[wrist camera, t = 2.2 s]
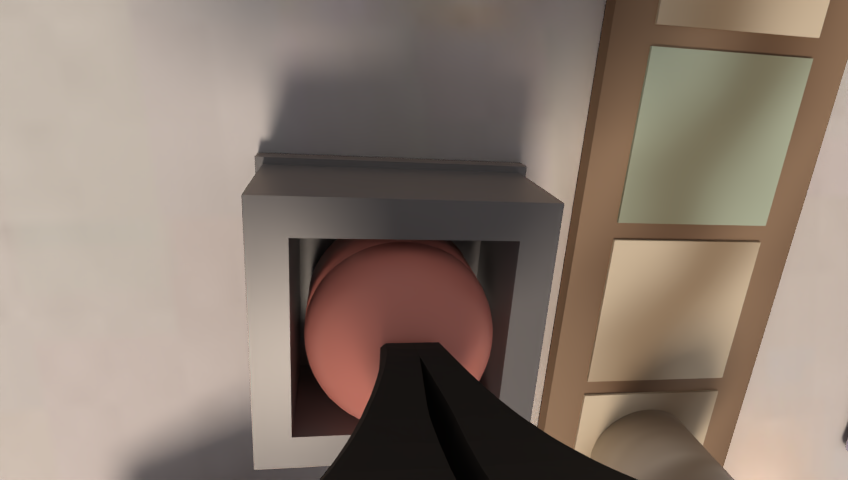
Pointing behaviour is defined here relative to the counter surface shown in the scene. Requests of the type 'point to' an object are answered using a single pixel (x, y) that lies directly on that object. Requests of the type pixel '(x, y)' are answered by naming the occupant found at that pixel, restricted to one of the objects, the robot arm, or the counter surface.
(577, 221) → the board
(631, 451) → the pawn
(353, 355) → the popper dome
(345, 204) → the frame
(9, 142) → the counter surface
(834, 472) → the counter surface
